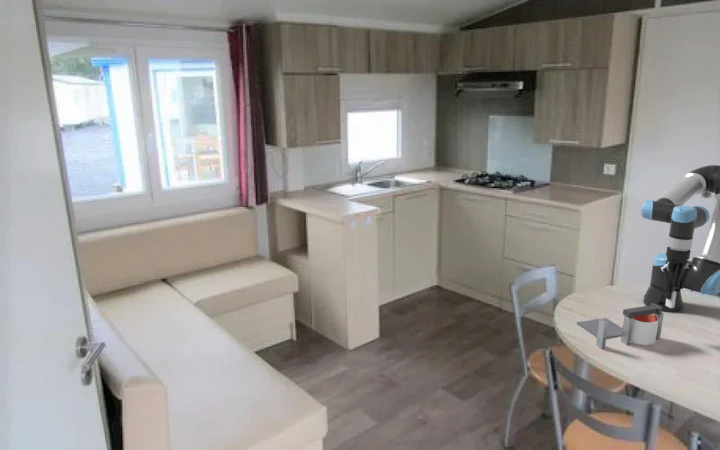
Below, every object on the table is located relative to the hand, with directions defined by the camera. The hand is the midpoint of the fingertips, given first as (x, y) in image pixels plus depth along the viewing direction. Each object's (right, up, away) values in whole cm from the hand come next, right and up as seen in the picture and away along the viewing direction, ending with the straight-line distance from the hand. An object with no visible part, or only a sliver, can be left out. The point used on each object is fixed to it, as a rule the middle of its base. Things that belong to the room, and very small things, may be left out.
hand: (669, 306), depth 200 cm
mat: (-21, -11, +10) cm, 26 cm away
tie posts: (-16, -14, 0) cm, 21 cm away
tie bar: (-12, -3, -2) cm, 13 cm away
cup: (-11, -14, +1) cm, 17 cm away
